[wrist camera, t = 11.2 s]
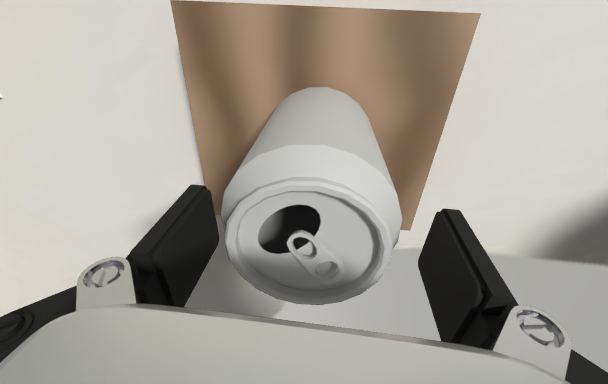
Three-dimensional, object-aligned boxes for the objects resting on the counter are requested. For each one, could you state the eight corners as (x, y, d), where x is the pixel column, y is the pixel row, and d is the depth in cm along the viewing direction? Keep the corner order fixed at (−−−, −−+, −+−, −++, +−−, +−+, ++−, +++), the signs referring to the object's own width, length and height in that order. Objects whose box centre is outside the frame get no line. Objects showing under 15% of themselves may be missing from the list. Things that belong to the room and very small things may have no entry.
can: (318, 57, 17) (300, 112, 7) (392, 137, 20) (457, 264, 9) (248, 137, 20) (168, 252, 10) (318, 197, 23) (309, 338, 13)
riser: (448, 14, 19) (480, 13, 15) (398, 198, 28) (410, 230, 24) (203, 4, 20) (170, 0, 16) (227, 185, 29) (210, 214, 25)
